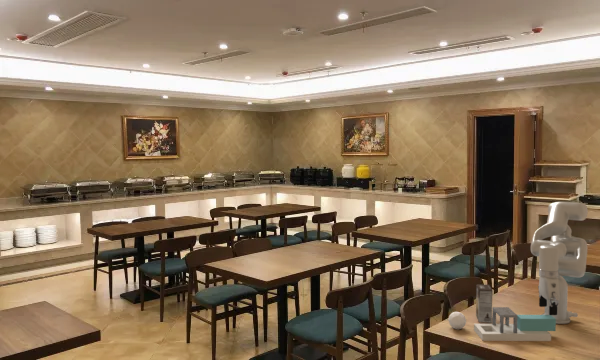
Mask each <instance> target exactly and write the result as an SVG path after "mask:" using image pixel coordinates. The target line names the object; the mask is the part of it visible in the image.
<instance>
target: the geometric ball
mask: <svg viewBox="0 0 600 360" xmlns="http://www.w3.org/2000/svg"><path fill="white" fill-rule="evenodd" d="M447 320H448V323H449V326H450V327H452V329H454V330H461V329H464V327H465V326H466V322H467V319H466V317H465V315H464V314H463V313H462V312H459V311H454V312H453V311H452V312H451V313H450V314H449V316H448V319H447Z"/></svg>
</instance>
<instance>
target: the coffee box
mask: <svg viewBox="0 0 600 360" xmlns="http://www.w3.org/2000/svg"><path fill="white" fill-rule="evenodd" d="M475 286H476V287H475V294H476V295H475V316H476V320H477V322H478V323H486V324H492V313H493V289H492V287H491V285H490V284H476V285H475Z"/></svg>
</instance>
